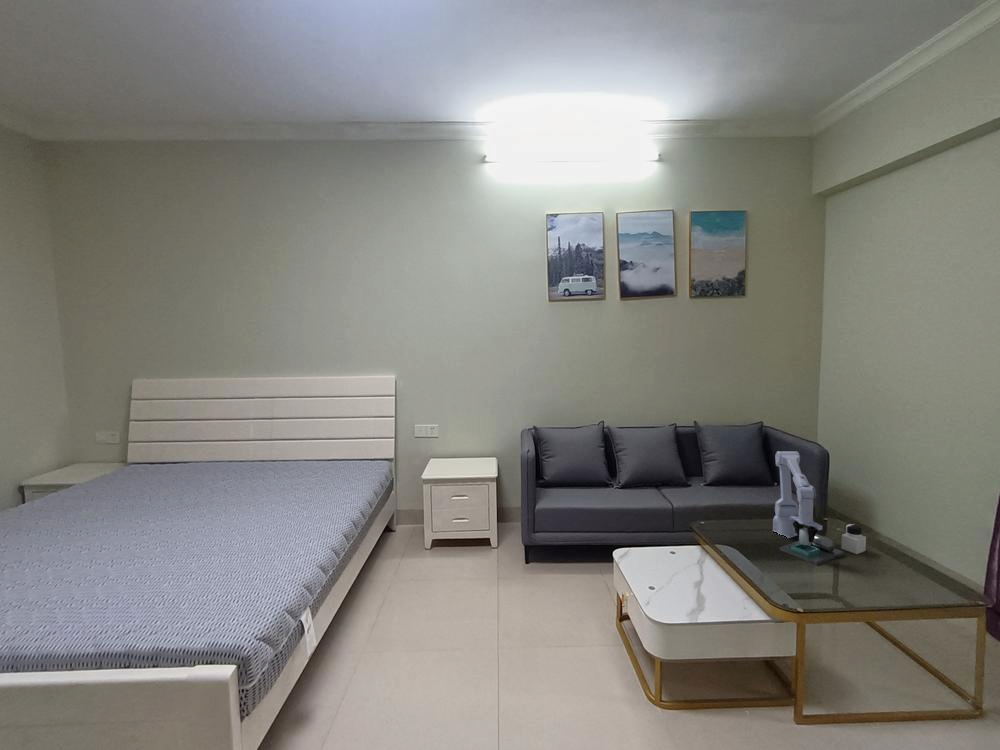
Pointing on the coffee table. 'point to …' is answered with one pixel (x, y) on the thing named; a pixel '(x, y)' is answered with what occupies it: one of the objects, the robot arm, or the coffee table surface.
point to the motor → (814, 550)
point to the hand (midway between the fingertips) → (805, 539)
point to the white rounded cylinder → (804, 536)
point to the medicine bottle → (854, 539)
